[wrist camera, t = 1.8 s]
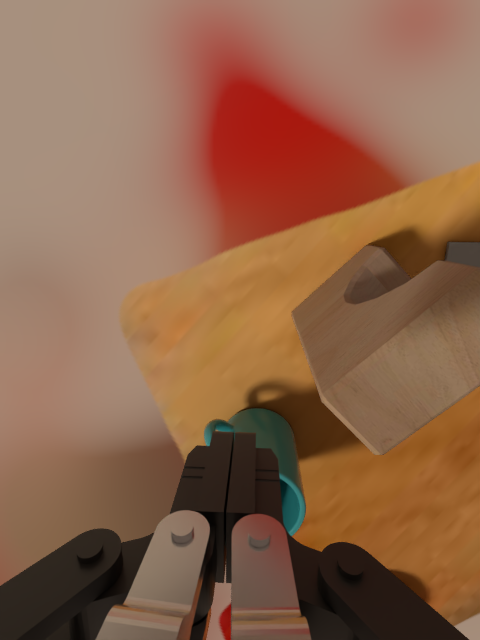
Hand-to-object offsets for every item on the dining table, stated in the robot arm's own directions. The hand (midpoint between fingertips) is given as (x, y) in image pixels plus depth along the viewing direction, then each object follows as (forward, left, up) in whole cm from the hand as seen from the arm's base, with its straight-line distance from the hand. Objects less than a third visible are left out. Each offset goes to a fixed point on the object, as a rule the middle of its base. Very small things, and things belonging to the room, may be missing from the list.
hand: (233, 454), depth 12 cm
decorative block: (-10, 0, -28) cm, 30 cm away
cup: (0, +17, -28) cm, 33 cm away
